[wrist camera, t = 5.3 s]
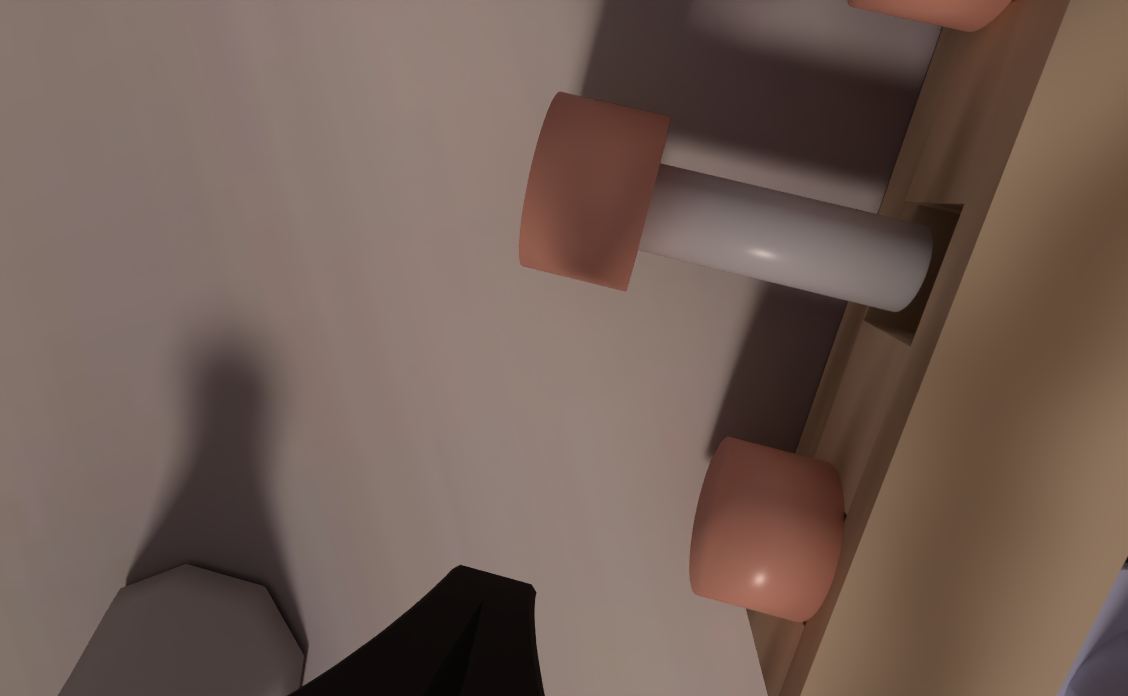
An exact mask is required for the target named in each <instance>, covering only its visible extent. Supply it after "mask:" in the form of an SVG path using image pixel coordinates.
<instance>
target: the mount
mask: <svg viewBox="0 0 1128 696" xmlns="http://www.w3.org/2000/svg"><path fill="white" fill-rule="evenodd" d="M878 214H879V215H883V216H887V217H892V218H896V219H900V220H904V221H909V222H913V223H917V224H922V225H925V226H927V227H928V228H929V229H930V231H931V234H932V239H933V247H932V256H931V260H930V264H929V268H928V271H927V274H926V276H925V279H924V281H923V283H922V285H921V287H920V289H919V291H918V293H917V294H916V296H915V297H914V299H913V300H912V301H911V302H910V303H909V305H907V306H906V307H905V308H904V309H903V310H901V311H898V312H892V311H888V310H884V309H880V308H875V307H871V306H867V305H863V304H859V303H855V302H851V301H848V303H847V306H846V308H845V311H844V314H843V317H842V320H841V323H840V326H839V329H838V332H837V334H836V337H835V340H834V343H833V346H832V349H831V352H830V355H829V358H828V360H827V363H826V366H825V369H824V372H823V375H822V378H821V381H820V384H819V386H818V389H817V392H816V395H815V398H814V401H813V404H812V407H811V410H810V412H809V415H808V418H807V421H806V424H805V427H804V430H803V433H802V436H801V438H800V441H799V444H798V447H797V450H796V453H795V454H798V455H802V456H806V457H810V458H814V459H818V460H822V461H826V462H829V463H830V464H832V465H833V467H834V468H835V469H836V471H837V473H838V475H839V478H840V481H841V485H842V490H843V496H844V512H845V513H846V515H847V516H846V519H845V521H844V531H843V540H842V546H841V552H840V557H839V561H838V565H837V569H836V573H835V576H834V579H833V582H832V585H831V587H830V589H829V592H828V594H827V596H826V598H825V600H824V602H823V604H822V605H821V607H820V608H819V610H818V611H817V612H816V614H815V615H814V616H813V617H812V618H810V619H809V620H807V621H805V622H801V623H799V622H795V621H791V620H787V619H784V618H780V617H776V616H773V615H769V614H765V613H762V612H758V611H754V610H750V609H747V608H746V611H747V615H748V619H749V623H750V626H751V630H752V634H753V638H754V642H755V646H756V650H757V654H758V658H759V662H760V666H761V670H762V674H763V678H764V682H765V686H766V690H767V694H768V696H1057V694H1058V692H1059V690H1060V688H1061V686H1062V684H1063V682H1064V680H1065V678H1066V676H1067V674H1068V672H1069V670H1070V668H1071V666H1072V664H1073V662H1074V660H1075V658H1076V656H1077V655H1078V653H1079V651H1080V649H1081V647H1082V645H1083V643H1084V641H1085V639H1086V637H1087V635H1088V633H1089V631H1090V629H1091V627H1092V625H1093V623H1094V621H1095V619H1096V617H1097V615H1098V613H1099V611H1100V609H1101V607H1102V605H1103V604H1104V602H1105V600H1106V598H1107V596H1108V594H1109V592H1110V590H1111V588H1112V586H1113V584H1114V582H1115V580H1116V578H1117V576H1118V574H1119V572H1120V570H1121V568H1122V566H1123V564H1124V562H1125V560H1126V558H1127V556H1128V0H1012V1H1011V2H1010V3H1009V4H1008V5H1007V7H1006V8H1005V9H1004V10H1003V11H1002V12H1001V13H1000V14H999V15H998V16H997V17H996V18H995V19H994V20H992V21H991V22H990V23H989V24H987V25H986V26H984V27H983V28H981V29H979V30H977V31H974V32H965V31H961V30H956V29H952V28H947V27H943V28H942V31H941V34H940V37H939V40H938V43H937V46H936V48H935V51H934V54H933V57H932V60H931V63H930V66H929V69H928V72H927V74H926V77H925V80H924V83H923V86H922V89H921V92H920V95H919V98H918V100H917V103H916V106H915V109H914V112H913V115H912V118H911V121H910V124H909V126H908V129H907V132H906V135H905V138H904V141H903V144H902V147H901V150H900V152H899V155H898V158H897V161H896V164H895V167H894V170H893V173H892V176H891V178H890V181H889V184H888V187H887V190H886V193H885V196H884V199H883V202H882V204H881V207H880V210H879V213H878Z"/></svg>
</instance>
